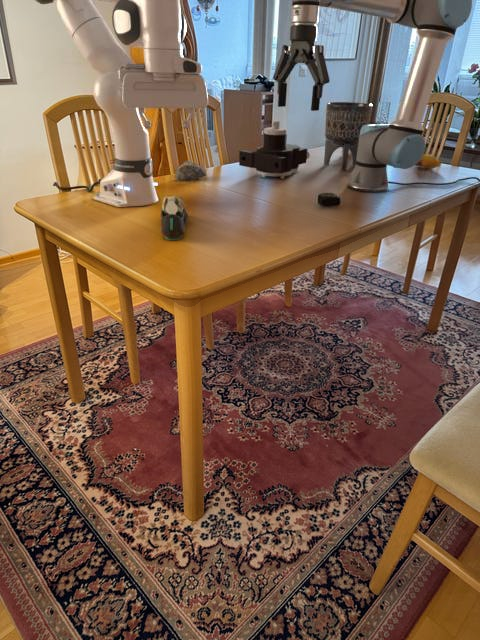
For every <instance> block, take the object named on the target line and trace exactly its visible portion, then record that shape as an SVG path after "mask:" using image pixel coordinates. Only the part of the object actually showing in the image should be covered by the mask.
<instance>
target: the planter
mask: <svg viewBox="0 0 480 640" xmlns="http://www.w3.org/2000/svg"><path fill="white" fill-rule="evenodd" d="M373 107H374V106H373V104H372V103H367V102H353V101H333V102H327V103H326V109H325V124H324V125H325V126H324V139H325V144H324V156H323V157H324V158H323V165H325V166H328V165H330V163H331V158H332V156H333V154H334V153H335V151H336V150H337V149H340V148H341V152H342V153H341V166H340V170H341V172H345V171H347V167H348V166H347V165H348V159H349V154H348V152H349V150H350V151H351V153H352V154H351V157H352V158H351V159H352V160H351V161H352V166H353V167H355V165H356V158H357V150H358V143H359V135H360V131H361V128H362V127H363V126H364V125H370V121H371V116H372V112H373Z"/></svg>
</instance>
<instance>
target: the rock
mask: <svg viewBox="0 0 480 640" xmlns="http://www.w3.org/2000/svg"><path fill="white" fill-rule="evenodd" d="M204 177H208V176H207V170H206V169H205V168H204V166H202V165H200V164H198V163H195V162H192V161H190V160H185V161H184V162H183V163H182V164H181V165H180V166H178V167H177V168H176V171H175V173H174V180H175V181H180V182H191V181H194V182H195V181H200V179H203V178H204Z"/></svg>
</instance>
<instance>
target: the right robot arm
mask: <svg viewBox="0 0 480 640" xmlns="http://www.w3.org/2000/svg"><path fill="white" fill-rule="evenodd" d="M321 7H322V8H328V9H334V10H338V11H344V12H350V13H355V14H361V15H367V16H371V17H372V16H373V17H378V18H382V19H383V18H384V19H385V20H386V21H387V23H390V24H395V25H400V26H403V27H407V28H410V29H416V35H417V36H418V41H417V46H416V49H415V52H414V56H413V58H412V62H411V65H410V68H409V72H408V76H407V79H406V83H405V86H404V89H403V93H402V95H401V99H400V103H399V106H398V108H397V109H398V110H397V113H396V116H395V118H394V119H393V120H392V121H391V122H389V123H388V124H384V123H383V124H382V123H381V124H369V125H364V126H363V127H362V128H361V131H360V135H359V143H358V150H357V158H356V165H355V166H354V167H353V171H351V172H350V173H348V177H349V179H348V180H347V181H348V182H347V187H348V188H349V189H351V190H354V191H358V192H363V193H364V192H365V193H382V192H386V191H388V189H389V185H390V184H391V185H399V186H411V185H429V186H446V185H447V186H448V185H452V184H453V185H454V184H456V183H458V182H460V181H466V180H477V181H478V182H480V178H479V177H477V176H470V177H464V178H458V179H456V180H455V181H450V182H440V183H439V182H424V181H423V182H421V181H419V182H418V181H417V182H415V181H414V182H407V183H406V182H404V183H403V182H397V181H389V178H388V173H387V172H388V171H387V166H390V167H393V168H394V169H401V170H408V169H411V168H413V167H414V166H416V165H415V164H417V163H418V162H419V160H420V159H421V158H422V156H424V155H425V151H426V146H427V144H426V143H425V142H426V139H425V137H424V136H423V134H424V131H425V130H424V127H423V125H422V122H423V118H424V116H425V113H426V109H427V107H428V104H429V100H430V97H431V94H432V90H433V88H434V84H435V81H436V78H437V75H438V72H439V69H440V66H441V63H442V60H443V56H444V53H445V50H446V47H447V44H448V43H449V42H450V41H451V40H452V39H454V38H455V35H456V32H457V30H458V28H460V27H462V26H463V25H464V24H465V23H466V22H467V21H468V19H469V17H470V15H471V12H472V8H473V0H291V17H290V18H291V19H290V23H291V24H292V25H291V26H290V29H289V30H290V32H289V41H290V43H291V44H283V45H282V47H281V54H280V57H279V60H278V63H277V65H276V68H275V71H274V73H273V76H272V80H273V81H276V82H277V91H276V92H277V95H278V97H277V98H278V99H277V107H278V108H283V107H286V106H287V90H288V82H287V79H288V78H289V76H290V75H291V73H292V71H293V69H294V68H295V67H296V65H298V64H304V65H306V67H307V69H308V71H309V73H310V75H311V77H312V80H313V82H314V84H313V86H312V92H311V93H312V94H311V103H310V104H311V105H310V111H311V112H318V111H320V104H321V99H322V98H323V90H324V85H326V84H329V83H330V81H331V80H330V76H329V75H330V74H329V71H328V67H327V63H326V58H325V55H324V54H325V53H324V51H325V47H324V46H325V45H323V44H315V43H316V41H317V38H318V26H317V24H318V23H319V16H320V15H319V14H320V8H321Z"/></svg>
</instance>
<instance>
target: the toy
mask: <svg viewBox="0 0 480 640" xmlns="http://www.w3.org/2000/svg"><path fill="white" fill-rule="evenodd" d="M441 165H442V162H441V160H437V159H436V157H435V156H434V155H432V154H423V156H422V158H421V159H420V160H419V162H418V163H417V164H415V165H414V166H416V167H417V166H418V167H422V168H423V169H426V170H432V169H435V168H438V167H440V166H441Z"/></svg>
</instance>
